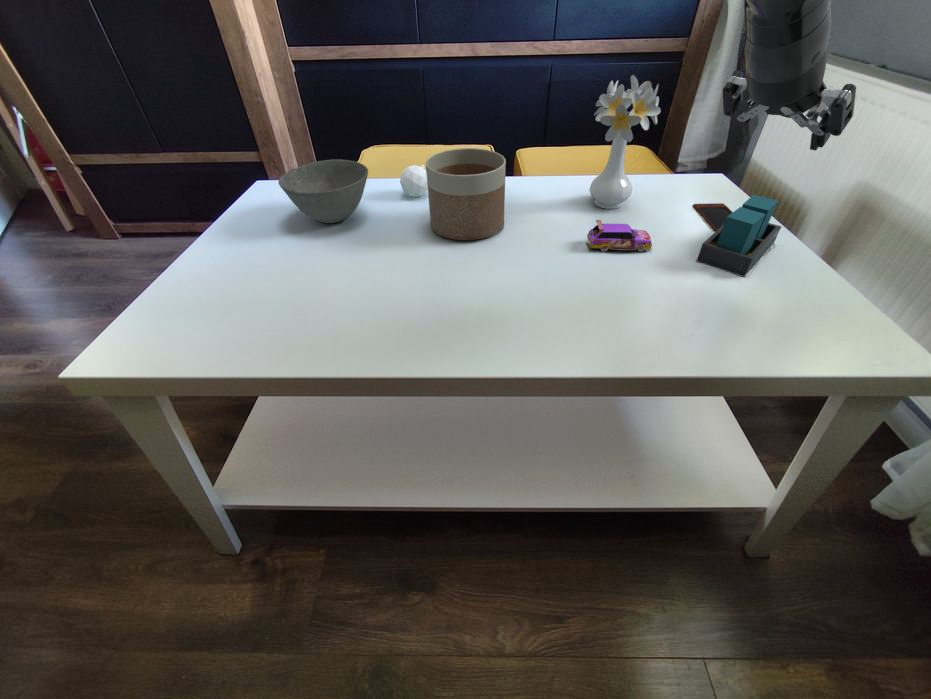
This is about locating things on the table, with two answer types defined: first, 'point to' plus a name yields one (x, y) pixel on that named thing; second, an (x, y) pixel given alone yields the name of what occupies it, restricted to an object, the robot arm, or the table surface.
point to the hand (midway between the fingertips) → (783, 137)
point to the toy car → (618, 237)
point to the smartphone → (713, 214)
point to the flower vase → (621, 137)
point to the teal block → (740, 230)
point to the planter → (466, 193)
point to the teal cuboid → (761, 210)
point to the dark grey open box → (734, 259)
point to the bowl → (326, 188)
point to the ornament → (414, 180)
